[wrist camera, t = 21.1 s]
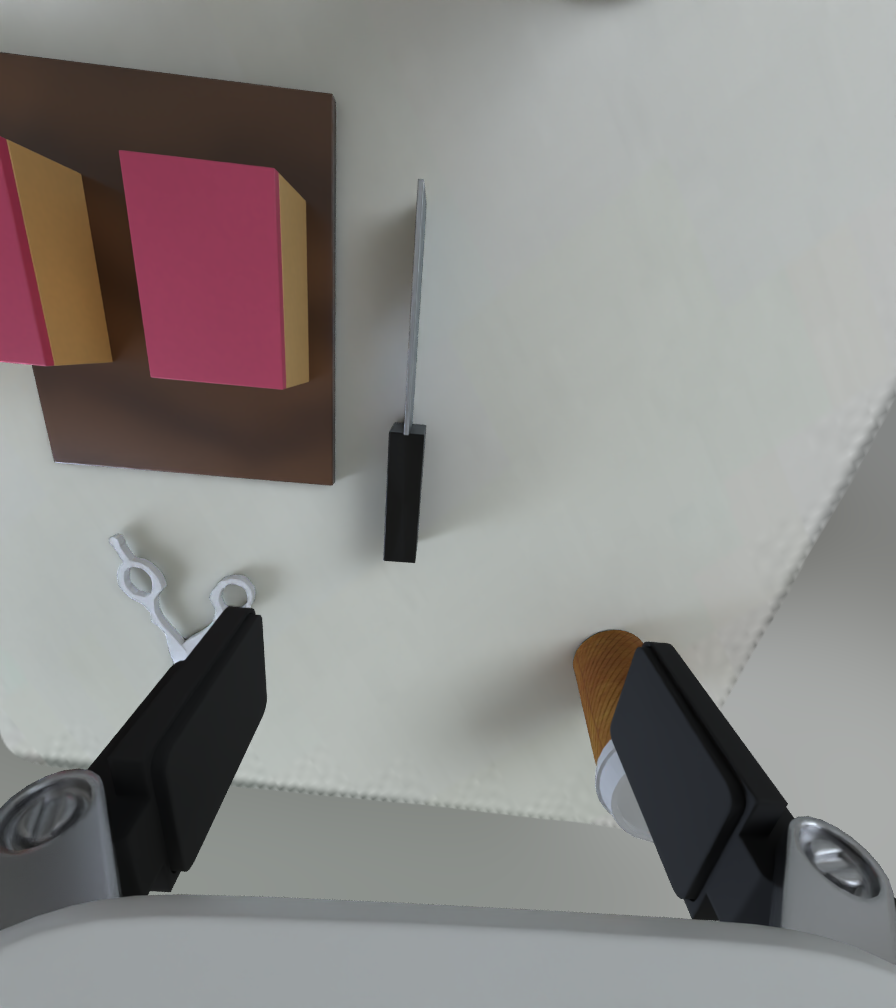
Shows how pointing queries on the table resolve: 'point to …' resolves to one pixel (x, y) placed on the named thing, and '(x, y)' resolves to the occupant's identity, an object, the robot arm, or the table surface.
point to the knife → (407, 431)
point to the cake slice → (47, 265)
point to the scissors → (151, 600)
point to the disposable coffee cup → (608, 720)
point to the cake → (219, 270)
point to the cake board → (126, 381)
